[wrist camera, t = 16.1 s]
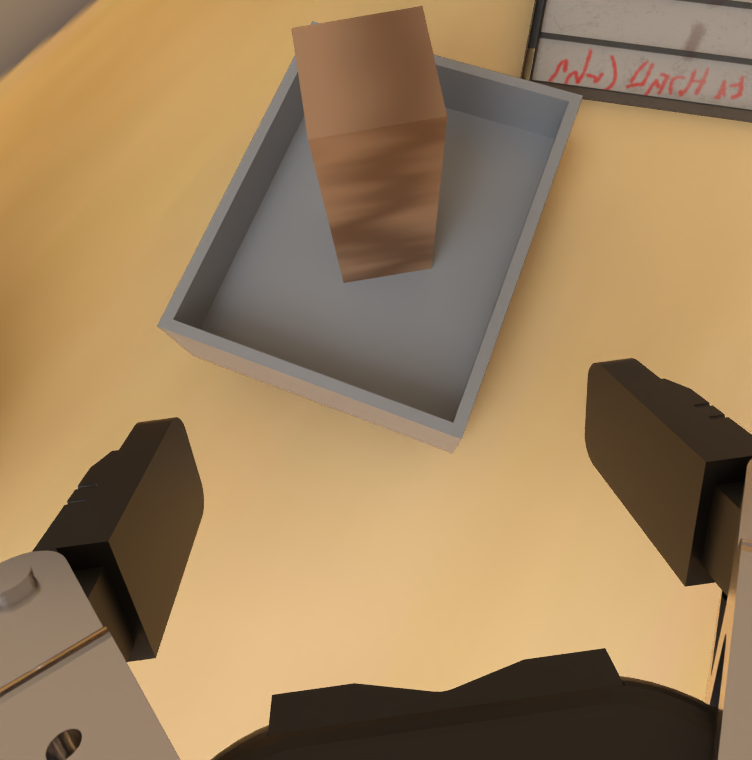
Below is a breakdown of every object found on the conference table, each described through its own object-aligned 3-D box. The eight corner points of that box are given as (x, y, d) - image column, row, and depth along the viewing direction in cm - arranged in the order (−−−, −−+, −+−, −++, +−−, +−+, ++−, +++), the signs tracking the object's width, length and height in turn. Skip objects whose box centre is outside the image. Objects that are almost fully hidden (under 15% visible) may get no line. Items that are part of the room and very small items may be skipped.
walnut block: (343, 283, 31) (307, 139, 20) (331, 205, 33) (291, 28, 21) (431, 268, 31) (447, 116, 20) (416, 191, 33) (422, 6, 21)
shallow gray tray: (210, 369, 36) (157, 326, 28) (329, 118, 40) (312, 21, 33) (448, 460, 34) (461, 439, 26) (546, 183, 38) (583, 95, 30)
